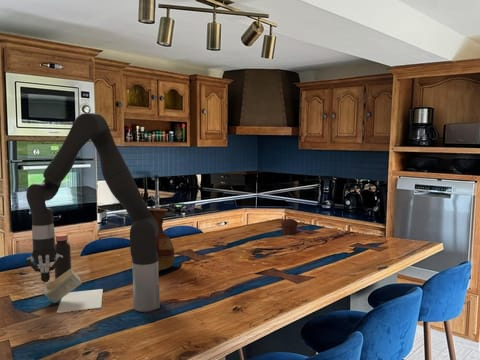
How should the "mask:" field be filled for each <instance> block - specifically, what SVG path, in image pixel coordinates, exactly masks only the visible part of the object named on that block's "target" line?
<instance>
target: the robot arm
mask: <svg viewBox="0 0 480 360" xmlns="http://www.w3.org/2000/svg"><path fill="white" fill-rule="evenodd" d="M111 132H112V131H111V129H110V127H109V124H108V122H107V120H106V119H105V117H103V116H102V115H101V114H99V113H95V112H82V113H80V114H78V116H77V117H76V118H75V120H74V121H73V124H72V125H71V127H70V129H69V131H68V134H67V135H66V138H65V140H64V142H63V143H62V144H61V146H60V148H59V149H58V151H57V152H56V154H55V156H54V157H53V158H52V160H51V161H50V162H49V163H48V165H47V167H46V168H45V169H44V171H43V174H42V175H43V178H44V179H43V180H42V182H36V183H32V184H30V185H29V186H28V188H27V190H26V195H25V196H26V201H27V204H28V207H29V210H30V213H31V219H32V222H31V224H32V225H31V227H32V228H31V237H32V252H31V255H30V257H27V258H26V260H25V262H26V264H28V266H29V267H30V268H32V269H33V270H34V271H35V272H37V273H40V280H41V282H42V283H48V282H49V281H50V279H51V272H52V271H55V267H56V266H57V265H58V264H59V262H60V261H61V260H62V258H63V256H62V255H59V254H57V251H56V249H55V245H56V233H55V226H54V225H55V224H54V212H53V209H52V208H51V207H48V206H47V204H46V202H47V201H51V200H52V199H54V198H55V196H56V195H57V194H58V192H59V189H60V188H61V184H62V182H63V181H64V179H66V177H67V175H68V174H69V172H70V171H71V170H72V168H73V167H74V165H75V162H76V159H77V156H78V154H79V152H80V151H81V149H82V148H83V147H84V146H85V145H86V143H87V142H90V141H91V142H92V144H93V145H94V147H95V149H96V151H97V153H98V156H99V161H100V168H101V174H102V177H103V179H104V181H105V184H106V185H107V187H108V189H109V191H110V192H111V194H112V195H113V197H115V199H116V200H117V201H118V202H119V203H120V204H121V206H122V207H123V208H124V209H125V210H126V212H127V214H128V216H129V218H130V220H131V223H132V224H131V226H130V229H129V250H130V251H129V252H130V255H131V266H132V297H133V302H132V303H133V309H134V311H137V312H143V313H144V312H146V313H147V312H152V311H154V310H157V309H160V308H161V304H160V303H161V300H160V297H161V296H160V282H159V281H160V280H159V271H158V253H157V251H156V236H157V234H158V231H159V227H158V223H157V222H156V220H155V218H154V217H153V215H152V214H151V212H150V211H149V209H148V208H149V207H148V206H147V204H146V203H145V201H144V198H143V197H142V195H141V194H142V193H141V192H140V190H139V187H138V186H137V184H136V182H135V178H134V177H133V175H132V173H131V171H130V169H129V167H128V165H127V163H126V162H125V160H124V158H123V155H122V154H121V152H120V150H119V149H118V146H117V144H116V143H115V140H114V137H113V134H112V133H111ZM55 256H56V258H55V259H56V261H55V263H53V264H52V265H51V262H52V261H54V257H55ZM35 261H36V262H37V263H38V264H37V263H36V262H35Z"/></svg>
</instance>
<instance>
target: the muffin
mask: <svg viewBox="0 0 480 360" xmlns="http://www.w3.org/2000/svg"><path fill="white" fill-rule="evenodd" d="M280 225H281V229H282V235H285V236H295V235H296V234H297V228H298V226H299V223H298V222H297V220H295V219H294V218H286V219H283V220H282V221H281V223H280Z"/></svg>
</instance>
